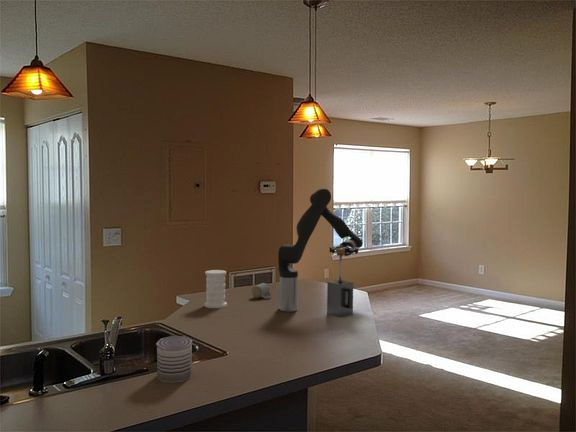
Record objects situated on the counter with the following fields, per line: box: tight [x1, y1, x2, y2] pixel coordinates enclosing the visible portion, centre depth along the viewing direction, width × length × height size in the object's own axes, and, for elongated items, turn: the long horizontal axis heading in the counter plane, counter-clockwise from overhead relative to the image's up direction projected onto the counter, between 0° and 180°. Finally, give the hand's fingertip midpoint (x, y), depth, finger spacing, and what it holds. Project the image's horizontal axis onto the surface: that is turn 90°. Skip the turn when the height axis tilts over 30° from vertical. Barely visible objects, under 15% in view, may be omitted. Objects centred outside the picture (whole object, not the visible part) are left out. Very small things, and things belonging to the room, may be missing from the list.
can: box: [155, 335, 194, 384], centre depth 168 cm, size 11×11×12 cm
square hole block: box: [326, 279, 354, 318], centre depth 251 cm, size 12×9×16 cm
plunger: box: [336, 248, 345, 283], centre depth 251 cm, size 7×7×20 cm
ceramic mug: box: [251, 282, 272, 300], centre depth 288 cm, size 11×8×8 cm
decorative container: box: [204, 269, 228, 309], centre depth 268 cm, size 12×12×18 cm
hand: (341, 251), depth 253 cm, fingers open, 8 cm apart
